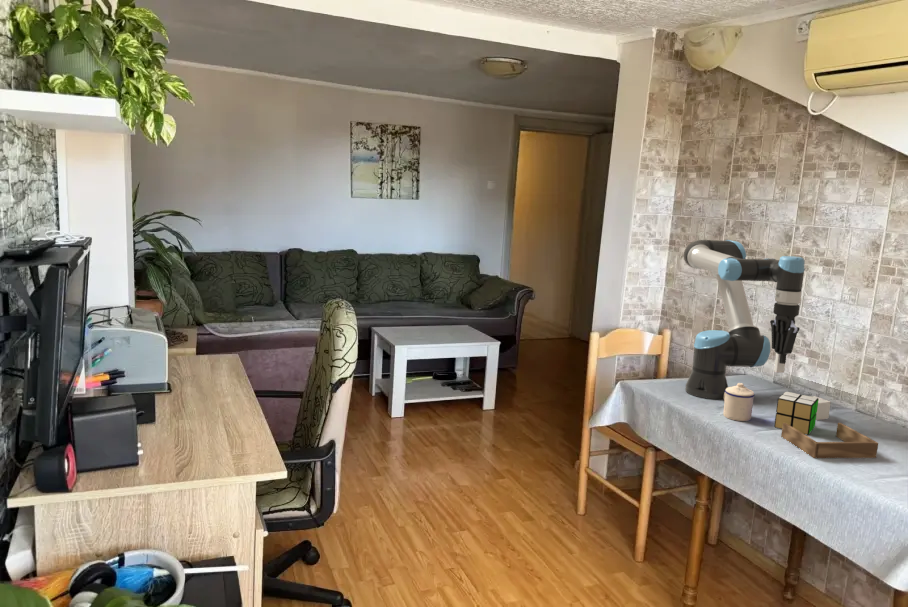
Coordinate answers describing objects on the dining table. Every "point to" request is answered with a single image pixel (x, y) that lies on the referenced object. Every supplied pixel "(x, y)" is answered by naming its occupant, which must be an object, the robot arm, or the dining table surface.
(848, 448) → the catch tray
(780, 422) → the puzzle cube
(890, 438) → the dining table surface
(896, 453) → the dining table surface
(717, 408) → the dining table surface
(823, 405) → the cream white cube
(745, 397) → the teacup with lid
